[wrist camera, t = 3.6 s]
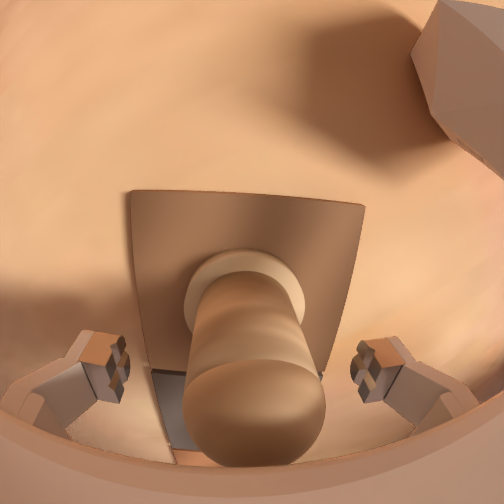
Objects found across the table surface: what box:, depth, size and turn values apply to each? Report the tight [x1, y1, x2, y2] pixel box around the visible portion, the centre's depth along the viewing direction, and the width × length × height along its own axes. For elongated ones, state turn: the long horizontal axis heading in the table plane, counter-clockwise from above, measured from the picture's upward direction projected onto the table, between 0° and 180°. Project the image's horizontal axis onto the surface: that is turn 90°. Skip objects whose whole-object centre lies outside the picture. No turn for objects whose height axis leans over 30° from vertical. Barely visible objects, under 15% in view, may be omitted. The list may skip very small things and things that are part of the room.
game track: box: [130, 190, 366, 467], centre depth 18 cm, size 10×40×1 cm, turn 176°
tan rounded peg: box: [182, 248, 326, 467], centre depth 9 cm, size 5×5×8 cm
